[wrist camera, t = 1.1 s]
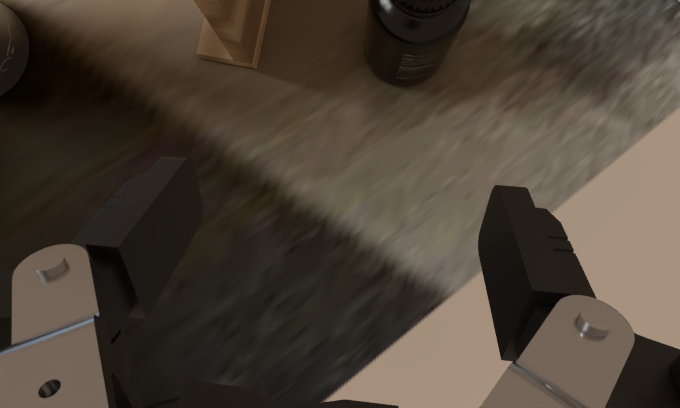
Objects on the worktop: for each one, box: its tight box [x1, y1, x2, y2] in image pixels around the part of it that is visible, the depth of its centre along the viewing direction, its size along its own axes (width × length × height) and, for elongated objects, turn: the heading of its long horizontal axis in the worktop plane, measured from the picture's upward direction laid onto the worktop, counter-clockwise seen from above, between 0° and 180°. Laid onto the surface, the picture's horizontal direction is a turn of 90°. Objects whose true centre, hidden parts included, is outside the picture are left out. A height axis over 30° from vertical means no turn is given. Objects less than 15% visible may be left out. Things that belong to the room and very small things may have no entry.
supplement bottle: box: [365, 0, 471, 86], centre depth 31 cm, size 7×7×12 cm
